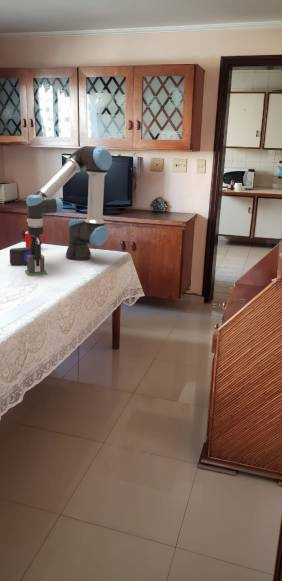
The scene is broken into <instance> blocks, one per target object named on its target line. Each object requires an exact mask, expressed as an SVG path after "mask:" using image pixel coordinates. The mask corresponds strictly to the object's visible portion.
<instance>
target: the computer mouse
mask: <svg viewBox="0 0 282 581" xmlns="http://www.w3.org/2000/svg"><path fill="white" fill-rule="evenodd" d="M27 255H32V254H31V247H26V246H25V247H15V248H10V249H9V265H11V266H14V267H15V266H27Z"/></svg>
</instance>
